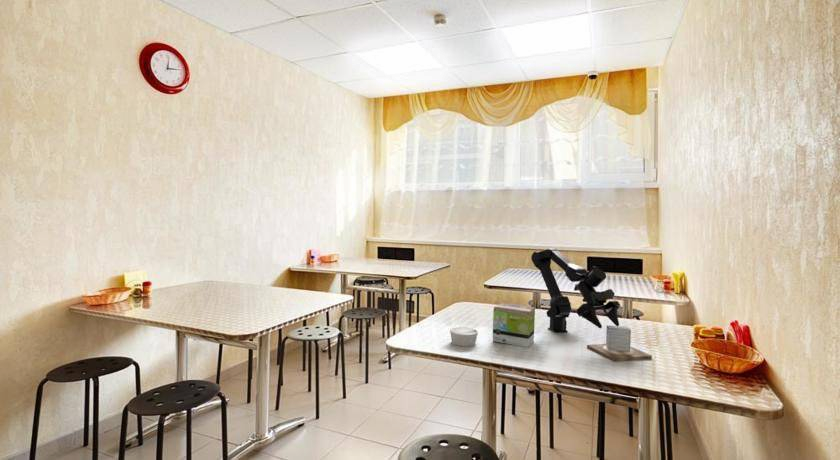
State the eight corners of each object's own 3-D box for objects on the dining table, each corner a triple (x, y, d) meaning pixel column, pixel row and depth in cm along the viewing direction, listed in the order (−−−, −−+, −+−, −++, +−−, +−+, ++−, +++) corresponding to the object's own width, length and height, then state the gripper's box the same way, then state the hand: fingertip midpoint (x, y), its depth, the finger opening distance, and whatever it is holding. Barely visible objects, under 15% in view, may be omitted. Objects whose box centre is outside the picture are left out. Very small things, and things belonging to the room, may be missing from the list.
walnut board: (614, 361, 153) (614, 357, 153) (586, 347, 169) (587, 344, 168) (651, 358, 157) (651, 355, 157) (621, 345, 172) (621, 342, 172)
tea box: (491, 342, 174) (492, 306, 173) (499, 336, 183) (500, 302, 182) (528, 348, 167) (529, 310, 166) (534, 341, 176) (535, 306, 175)
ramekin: (476, 348, 165) (476, 335, 165) (448, 346, 167) (448, 333, 167) (478, 340, 176) (478, 328, 176) (451, 338, 178) (451, 326, 178)
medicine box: (627, 348, 164) (628, 326, 164) (630, 352, 160) (631, 329, 159) (605, 347, 166) (606, 325, 165) (608, 350, 161) (608, 328, 161)
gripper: (583, 283, 167) (604, 318, 157) (617, 281, 174) (640, 314, 165) (567, 299, 174) (587, 333, 165) (601, 296, 182) (622, 328, 172)
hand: (609, 326), depth 166 cm, fingers open, 9 cm apart
